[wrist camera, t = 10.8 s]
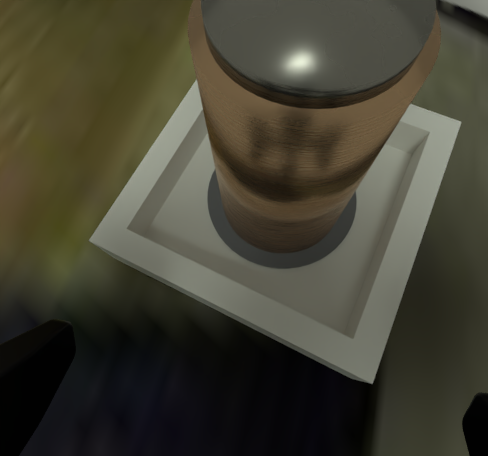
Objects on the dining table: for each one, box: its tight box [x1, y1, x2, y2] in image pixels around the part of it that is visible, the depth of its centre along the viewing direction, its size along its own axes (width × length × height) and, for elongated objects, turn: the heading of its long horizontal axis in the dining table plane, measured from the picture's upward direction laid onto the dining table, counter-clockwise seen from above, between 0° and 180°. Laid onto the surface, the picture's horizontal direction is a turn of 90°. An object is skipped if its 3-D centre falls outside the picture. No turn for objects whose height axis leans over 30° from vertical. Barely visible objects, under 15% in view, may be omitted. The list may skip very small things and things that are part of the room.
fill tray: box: [89, 80, 461, 384], centre depth 17 cm, size 13×13×3 cm
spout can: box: [188, 0, 441, 254], centre depth 13 cm, size 8×6×11 cm
